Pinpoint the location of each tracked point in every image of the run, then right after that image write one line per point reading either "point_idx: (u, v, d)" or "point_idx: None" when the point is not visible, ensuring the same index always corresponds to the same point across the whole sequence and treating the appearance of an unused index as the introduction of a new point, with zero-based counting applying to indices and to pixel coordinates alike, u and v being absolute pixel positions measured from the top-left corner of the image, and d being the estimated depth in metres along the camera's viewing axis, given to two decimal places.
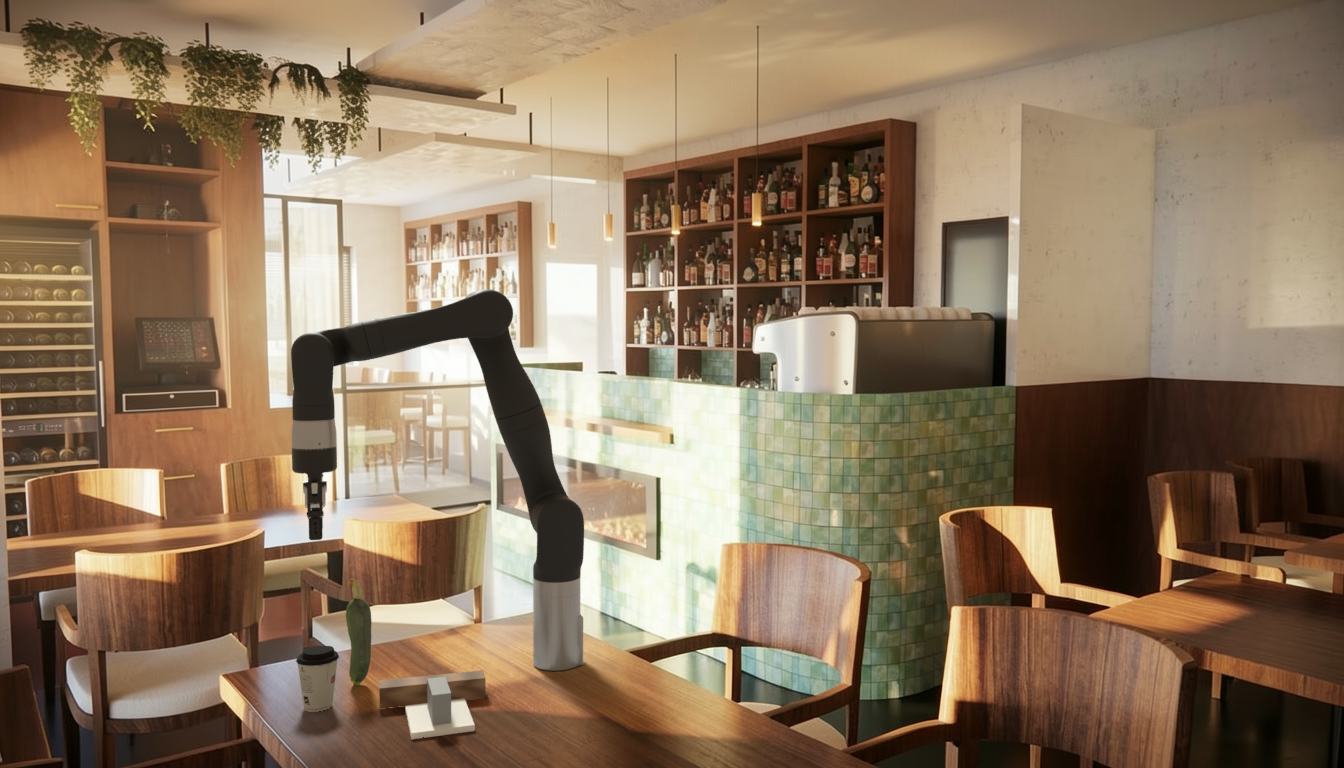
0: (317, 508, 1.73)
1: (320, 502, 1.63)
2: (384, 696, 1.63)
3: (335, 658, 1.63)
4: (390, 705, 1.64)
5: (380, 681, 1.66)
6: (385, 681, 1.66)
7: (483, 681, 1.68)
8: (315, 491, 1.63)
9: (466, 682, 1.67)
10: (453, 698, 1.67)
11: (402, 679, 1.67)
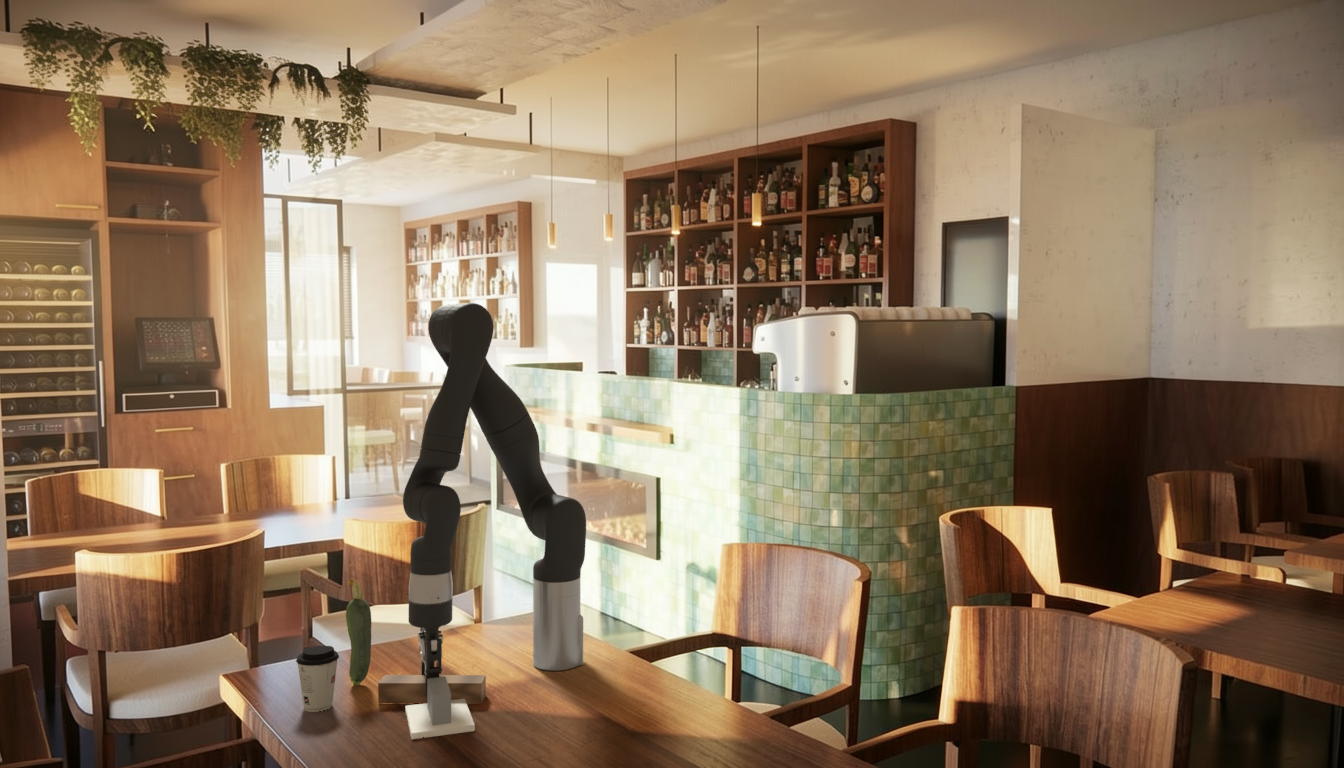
0: None
1: (439, 660, 1.62)
2: (382, 692, 1.66)
3: (335, 658, 1.63)
4: (388, 701, 1.66)
5: (384, 676, 1.69)
6: (389, 676, 1.69)
7: (479, 686, 1.66)
8: (435, 649, 1.61)
9: (462, 686, 1.66)
10: None
11: (405, 676, 1.69)
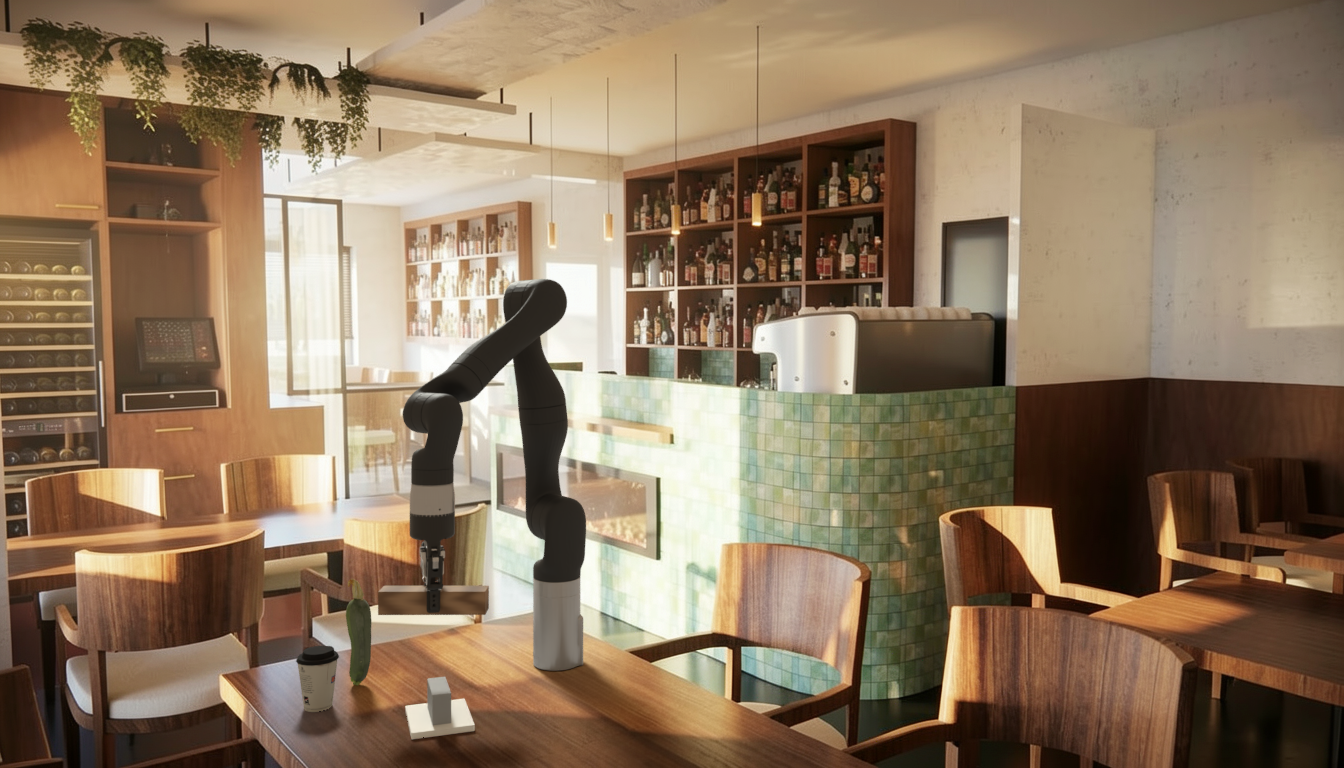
0: (432, 580, 1.65)
1: (440, 577, 1.57)
2: (382, 600, 1.61)
3: (335, 658, 1.63)
4: (388, 610, 1.61)
5: (384, 586, 1.64)
6: (388, 586, 1.64)
7: (483, 595, 1.61)
8: (436, 566, 1.56)
9: (465, 594, 1.61)
10: (452, 609, 1.61)
11: (405, 586, 1.64)
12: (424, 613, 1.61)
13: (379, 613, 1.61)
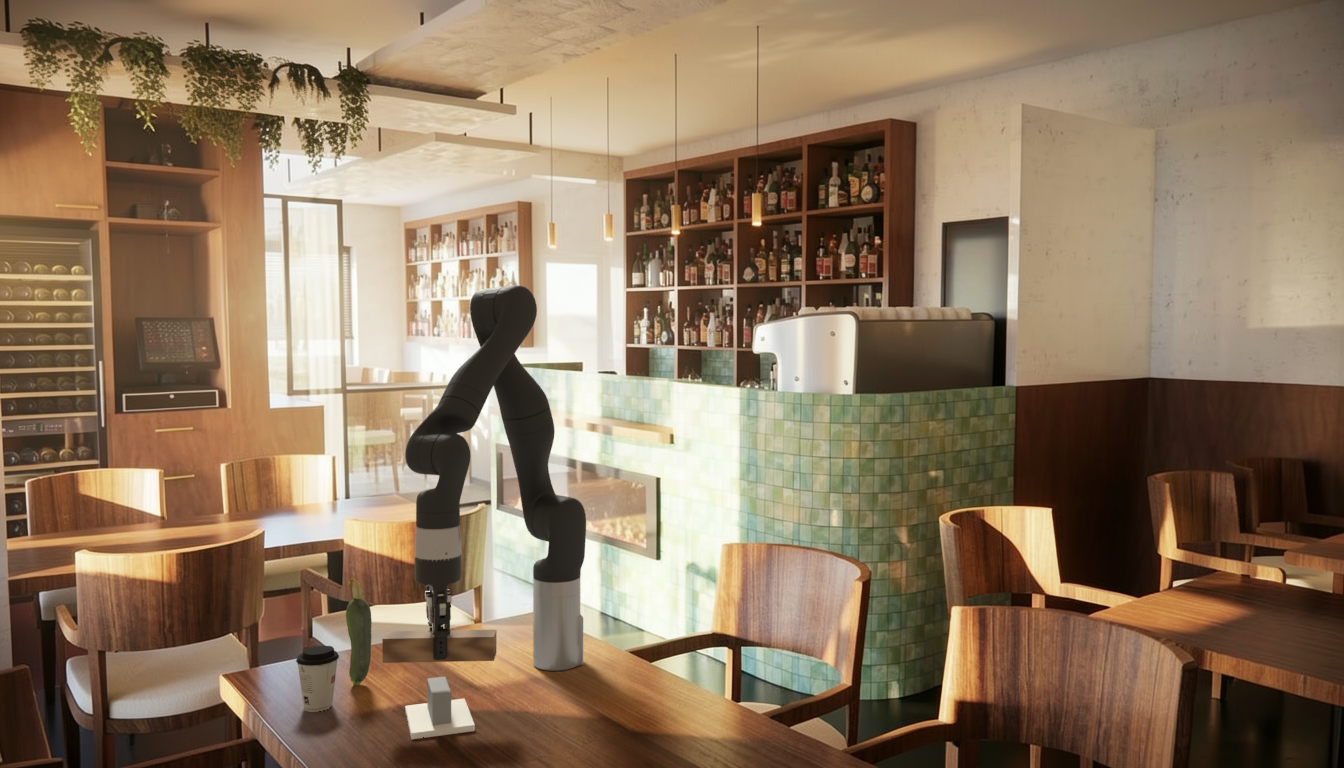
0: (438, 625, 1.60)
1: (448, 623, 1.52)
2: (387, 648, 1.55)
3: (335, 658, 1.63)
4: (393, 657, 1.55)
5: (388, 632, 1.58)
6: (393, 632, 1.58)
7: (491, 640, 1.56)
8: (443, 613, 1.51)
9: (473, 640, 1.56)
10: (459, 656, 1.56)
11: (410, 632, 1.59)
12: (430, 660, 1.56)
13: (384, 661, 1.55)
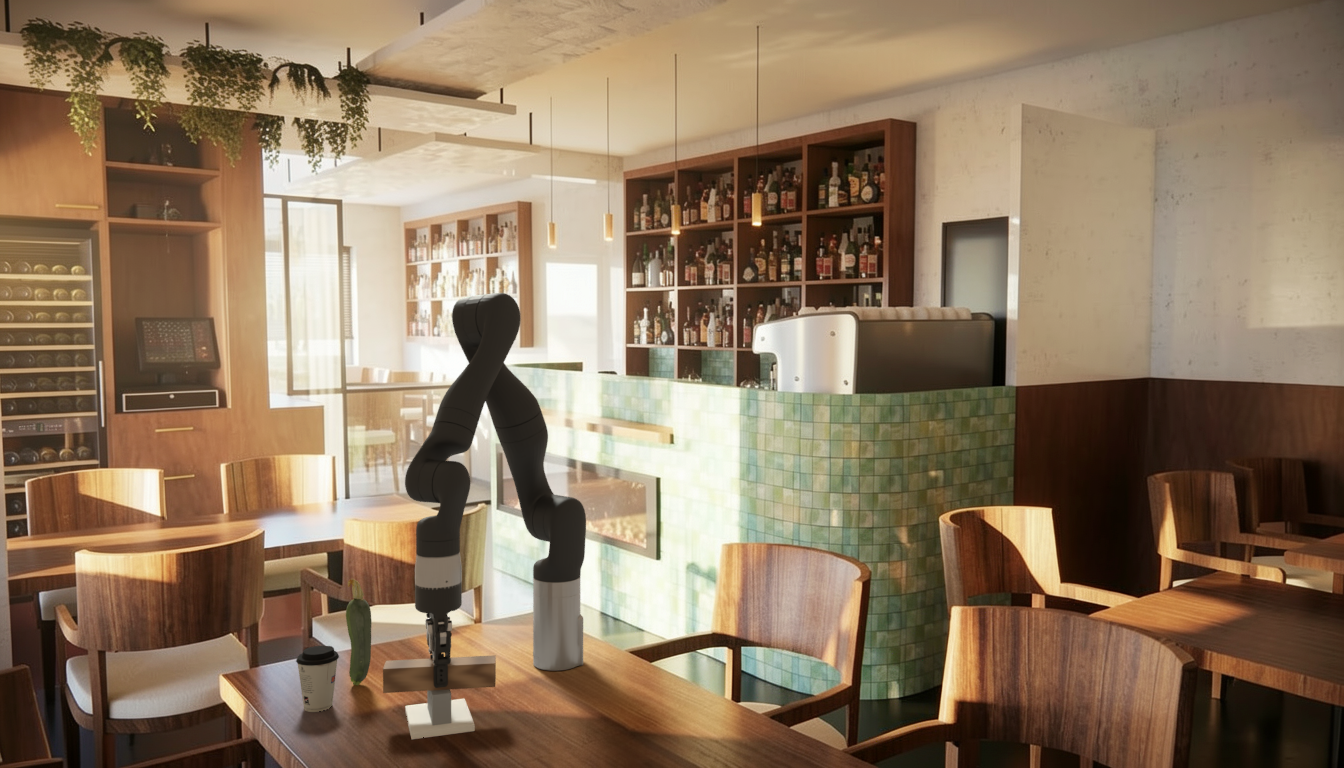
0: (438, 652, 1.60)
1: (448, 652, 1.53)
2: (388, 678, 1.55)
3: (335, 658, 1.63)
4: (394, 687, 1.55)
5: (386, 661, 1.58)
6: (391, 662, 1.58)
7: (493, 666, 1.57)
8: (444, 642, 1.52)
9: (475, 667, 1.57)
10: (461, 683, 1.57)
11: (409, 660, 1.58)
12: (432, 688, 1.56)
13: (384, 691, 1.55)
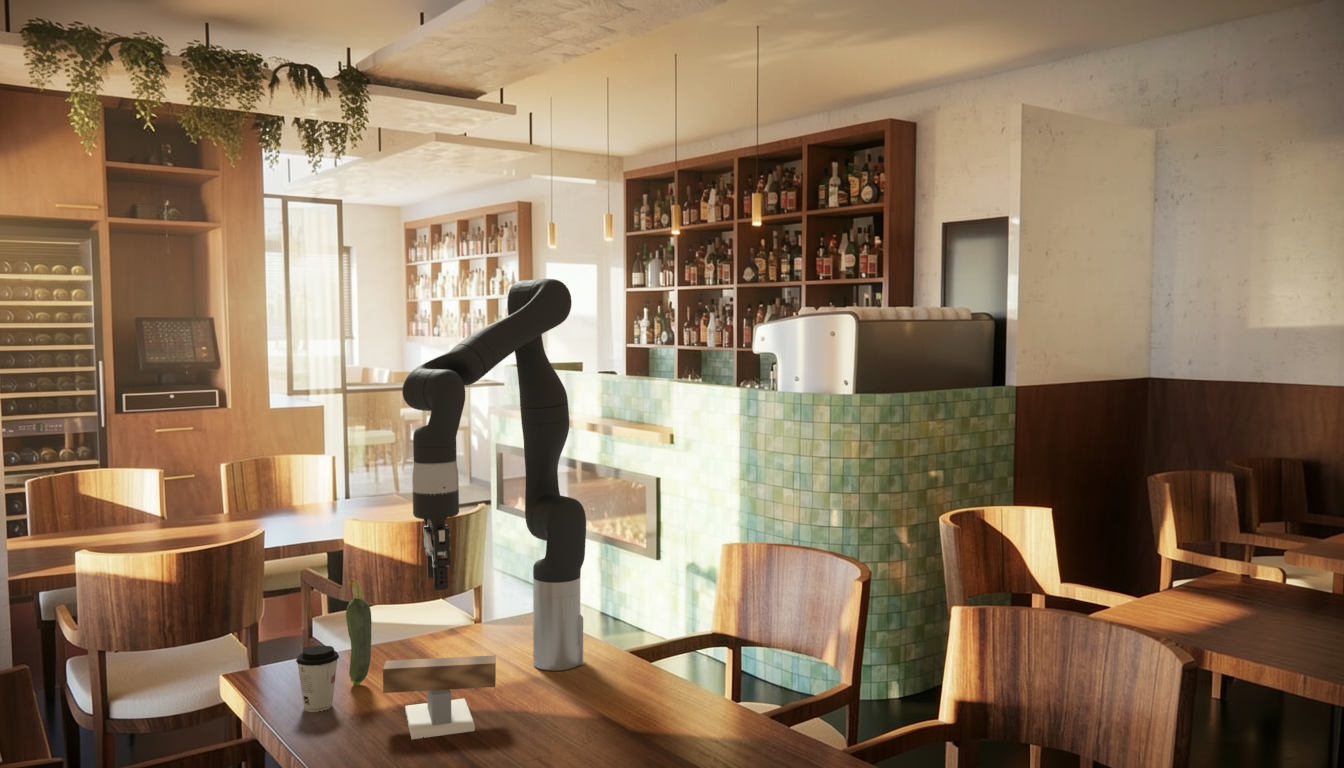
0: None
1: (448, 550, 1.53)
2: (388, 678, 1.55)
3: (335, 658, 1.63)
4: (394, 687, 1.55)
5: (386, 662, 1.58)
6: (391, 662, 1.58)
7: (493, 666, 1.57)
8: (442, 539, 1.53)
9: (475, 667, 1.57)
10: (461, 683, 1.57)
11: (409, 660, 1.58)
12: (432, 688, 1.56)
13: (384, 691, 1.55)
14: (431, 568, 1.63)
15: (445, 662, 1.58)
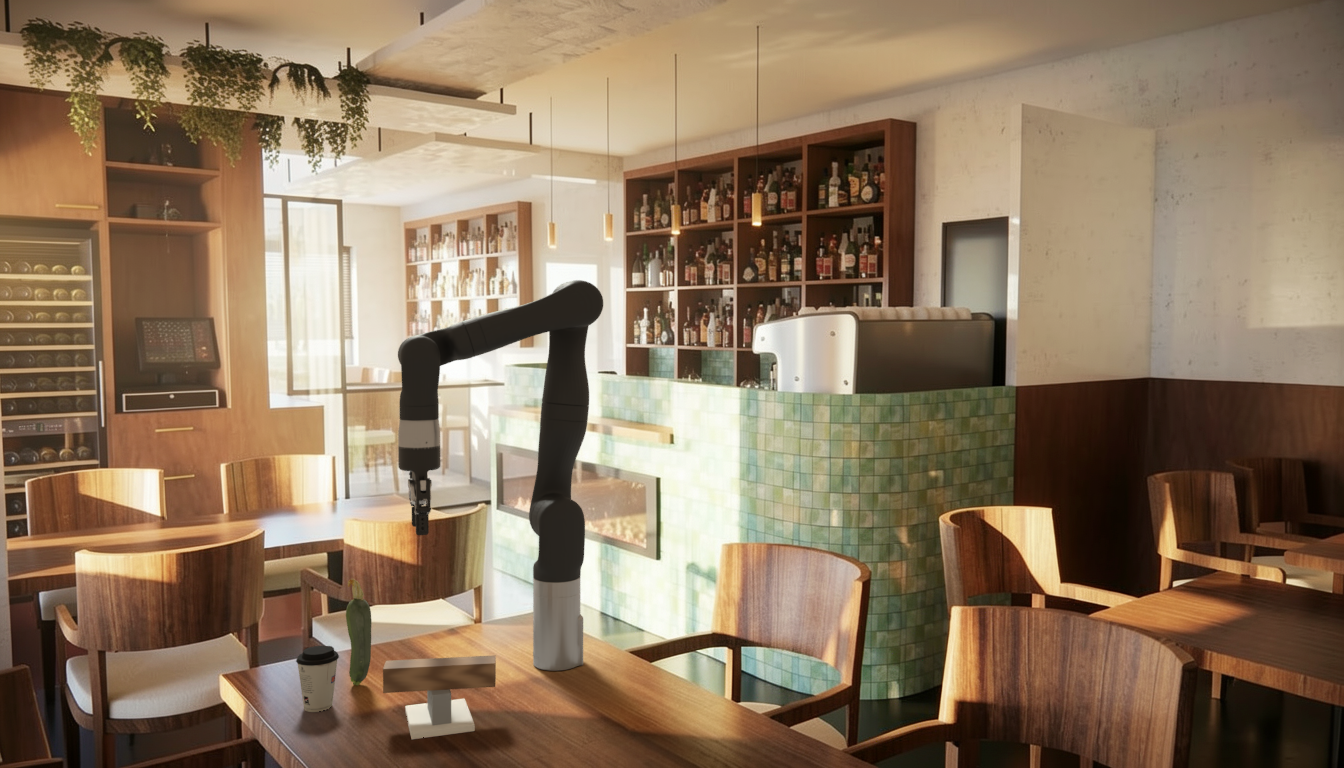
0: (419, 505, 1.80)
1: (428, 499, 1.70)
2: (388, 678, 1.55)
3: (335, 658, 1.63)
4: (394, 687, 1.55)
5: (386, 662, 1.58)
6: (391, 662, 1.58)
7: (493, 666, 1.57)
8: (424, 488, 1.70)
9: (475, 667, 1.57)
10: (461, 683, 1.57)
11: (409, 660, 1.58)
12: (432, 688, 1.56)
13: (384, 691, 1.55)
14: (415, 518, 1.80)
15: (445, 662, 1.58)
